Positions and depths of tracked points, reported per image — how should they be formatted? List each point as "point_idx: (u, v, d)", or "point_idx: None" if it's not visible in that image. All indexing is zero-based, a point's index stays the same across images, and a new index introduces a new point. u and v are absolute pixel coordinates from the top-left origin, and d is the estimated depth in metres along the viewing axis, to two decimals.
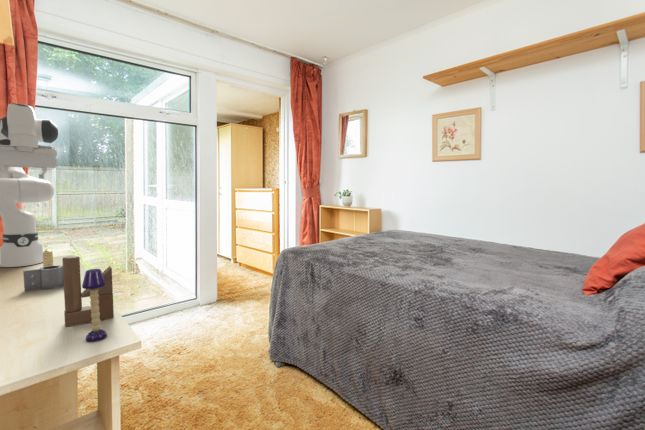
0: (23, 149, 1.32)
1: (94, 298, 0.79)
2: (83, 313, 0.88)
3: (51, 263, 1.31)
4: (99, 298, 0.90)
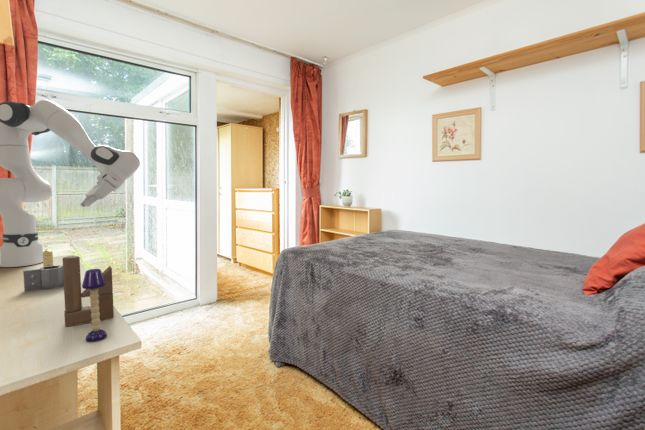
0: None
1: (94, 298, 0.79)
2: (83, 313, 0.88)
3: (51, 263, 1.31)
4: (99, 298, 0.90)
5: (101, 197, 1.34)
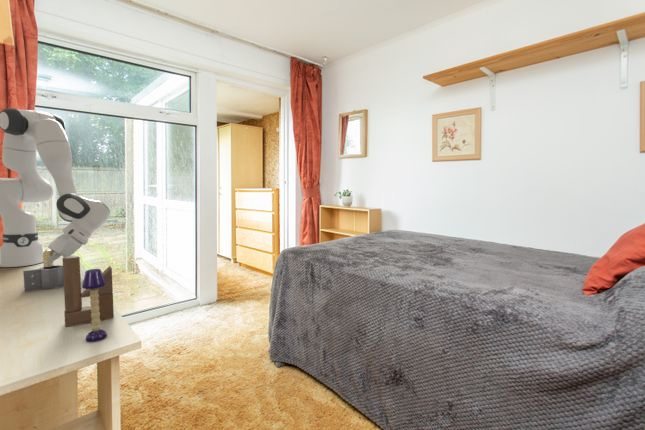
0: None
1: (94, 298, 0.79)
2: (83, 313, 0.88)
3: (51, 263, 1.31)
4: (99, 298, 0.90)
5: (66, 256, 1.27)
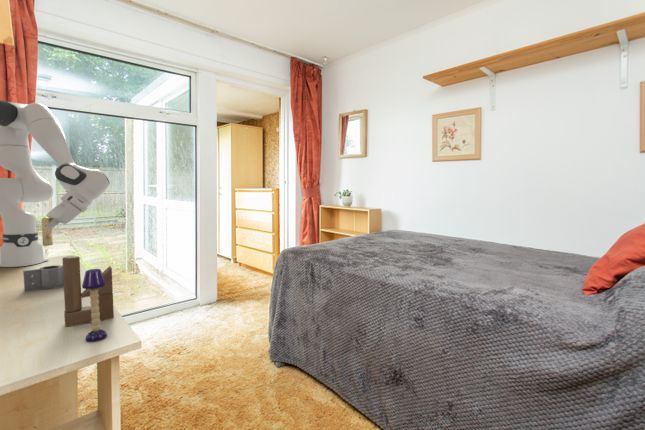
0: None
1: (94, 298, 0.79)
2: (83, 313, 0.88)
3: (50, 230, 1.29)
4: (99, 298, 0.90)
5: (65, 222, 1.26)
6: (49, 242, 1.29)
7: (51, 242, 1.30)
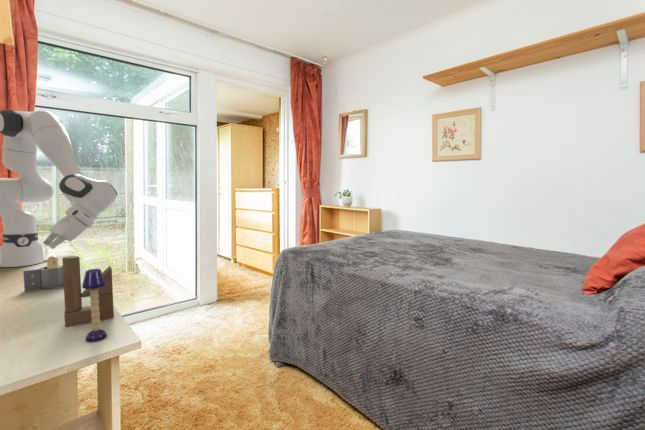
0: None
1: (94, 298, 0.79)
2: (83, 313, 0.88)
3: None
4: (99, 298, 0.90)
5: (70, 239, 1.15)
6: None
7: None
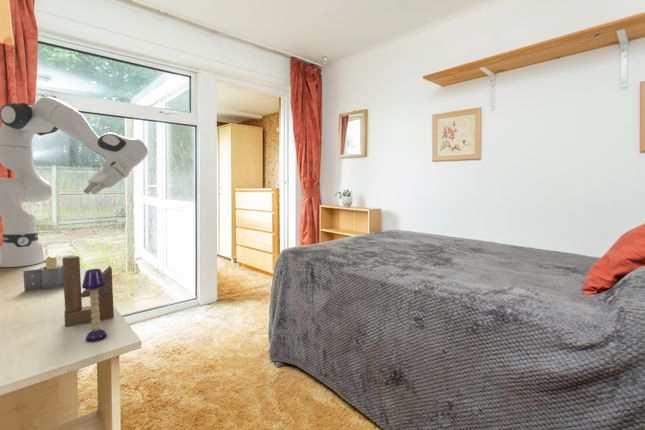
0: None
1: (94, 298, 0.79)
2: (83, 313, 0.88)
3: None
4: (99, 298, 0.90)
5: (109, 185, 1.30)
6: None
7: None
